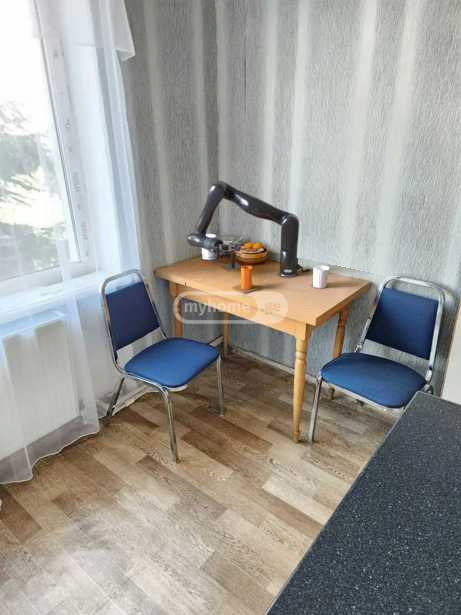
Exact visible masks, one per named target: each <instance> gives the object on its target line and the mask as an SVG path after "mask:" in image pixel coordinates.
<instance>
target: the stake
mask: <svg viewBox="0 0 461 615" xmlns="http://www.w3.org/2000/svg"><path fill="white" fill-rule="evenodd" d="M235 261H236V253H235V251H233V252H232V251H230V263H226V264H223V267H225V268H226V269H228V270H234V269H241V267H242V266H243V265H240V264H239V263H238V262H235Z"/></svg>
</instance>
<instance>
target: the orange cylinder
mask: <svg viewBox="0 0 461 615" xmlns="http://www.w3.org/2000/svg"><path fill="white" fill-rule="evenodd" d="M241 266H242V267H241V268H240V282H241V283H240V285H241V289H244V290H249V289H252V285H253V266H252V265H241Z"/></svg>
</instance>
